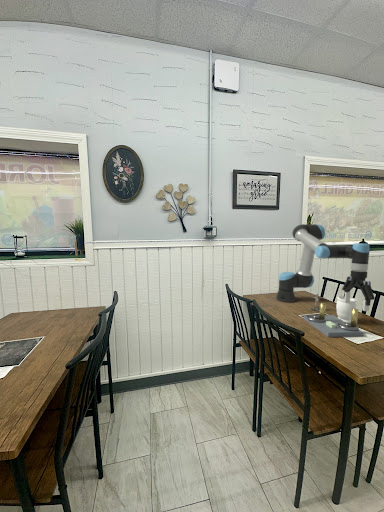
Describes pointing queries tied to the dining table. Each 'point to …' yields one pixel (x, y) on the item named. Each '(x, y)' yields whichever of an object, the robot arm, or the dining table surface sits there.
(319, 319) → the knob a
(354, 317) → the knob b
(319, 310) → the figurine
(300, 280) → the robot arm
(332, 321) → the plate
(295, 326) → the dining table surface
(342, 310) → the jar
